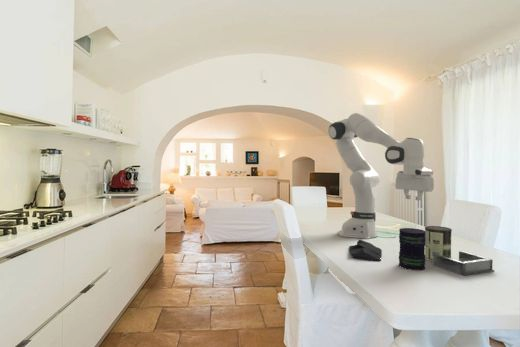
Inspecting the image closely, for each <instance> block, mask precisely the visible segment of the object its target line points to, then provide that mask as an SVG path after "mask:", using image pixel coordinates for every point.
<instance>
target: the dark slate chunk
mask: <svg viewBox="0 0 520 347" xmlns="http://www.w3.org/2000/svg"><path fill="white" fill-rule="evenodd" d="M348 247H349V253H350V256H351V257H352V258H355V259H361V258H362V259H361V260H366V259H367V261H371V260H373V262H382V253H383V252H382V248H380V247H377V246H375V245H374V244H373V243H370V242H369V241H366V240H362V239H359V240H358V241H357V242H356V244H354V245H350V246H348ZM380 258H381V259H380Z"/></svg>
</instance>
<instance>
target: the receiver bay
mask: <svg viewBox="0 0 520 347" xmlns="http://www.w3.org/2000/svg"><path fill="white" fill-rule="evenodd" d="M432 265H433V266H436V267H439V268H442V269H444V270H448V271H450V272H453V273H455V274H458V275H461V276H464V277H466V276H472V275H473V276H474V275H478V274H479V275H480V274H486V273H492V272H495V269H494V268H493V259H492V258H490V257H485V256H482V255H478V254H474V253H471V252H468V251H463V250H459V251H458V260H457V259H455V258H452V257H451V258H448V257H445V256H442V255H439V254H434V259H433V264H432Z"/></svg>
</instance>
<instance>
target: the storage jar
mask: <svg viewBox="0 0 520 347" xmlns="http://www.w3.org/2000/svg"><path fill="white" fill-rule="evenodd" d="M425 234H426V231H425V229H419V228H413V227H401V228H399V234H398V239H399V241H398V242H399V251H398V262H399V263H398V266H399V267H400V266H401V267H400V268H402V267H403V268H402V269H405V268H406V269H405V270H409V269H410V270H411V271H424V270H425V269H426V259H425V244H426V243H425V241H426V238H425V237H426V235H425Z"/></svg>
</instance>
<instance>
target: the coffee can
mask: <svg viewBox="0 0 520 347" xmlns="http://www.w3.org/2000/svg"><path fill="white" fill-rule="evenodd" d="M424 231H426V234H425V235H426V237H425V238H426V241H425V243H426V244H425V261H428V262H431V263H432V262H433V259H434V254H439V255H442V256H445V257H448V258H451V259H452V231H453V230H452V228H450V227H446V226H440V225H439V226H437V225H427V226H424Z"/></svg>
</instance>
